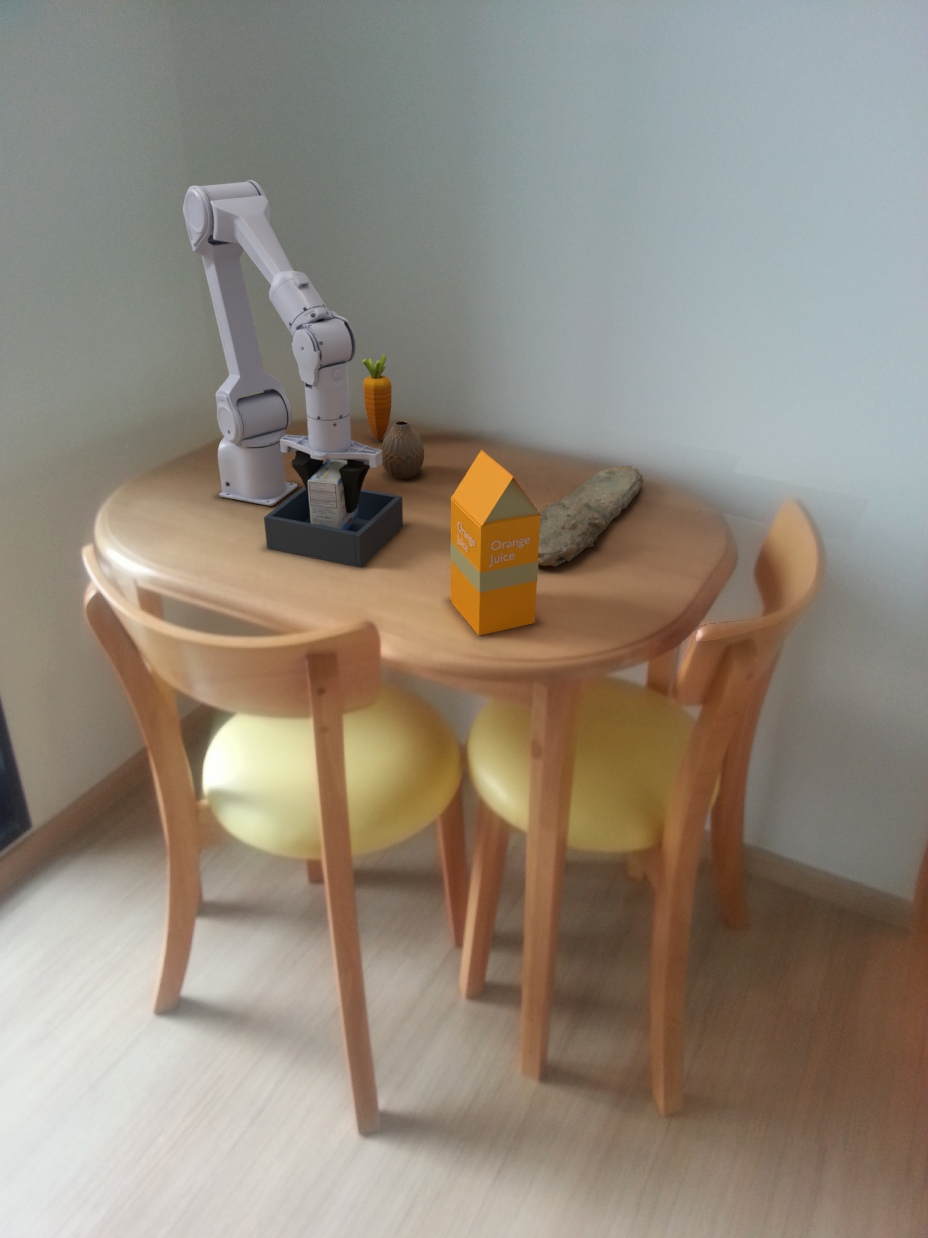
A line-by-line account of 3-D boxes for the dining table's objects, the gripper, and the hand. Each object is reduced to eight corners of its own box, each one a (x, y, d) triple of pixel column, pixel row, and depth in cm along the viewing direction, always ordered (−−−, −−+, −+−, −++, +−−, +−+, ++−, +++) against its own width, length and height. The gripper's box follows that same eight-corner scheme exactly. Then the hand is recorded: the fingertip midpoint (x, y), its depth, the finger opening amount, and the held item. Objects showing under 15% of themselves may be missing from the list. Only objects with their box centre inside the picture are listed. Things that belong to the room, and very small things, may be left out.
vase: (432, 472, 157) (432, 420, 152) (408, 486, 152) (406, 433, 148) (398, 463, 160) (396, 412, 156) (373, 476, 155) (370, 424, 151)
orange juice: (478, 636, 115) (481, 481, 105) (449, 601, 122) (449, 452, 111) (536, 622, 118) (544, 470, 107) (505, 589, 125) (510, 443, 114)
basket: (266, 548, 134) (263, 517, 131) (314, 509, 145) (312, 479, 142) (361, 567, 129) (359, 535, 127) (403, 526, 140) (402, 495, 138)
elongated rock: (657, 495, 153) (598, 485, 158) (659, 463, 151) (600, 454, 155) (570, 577, 126) (502, 563, 130) (572, 540, 124) (503, 527, 128)
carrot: (361, 444, 167) (357, 358, 159) (369, 434, 171) (365, 350, 163) (389, 446, 166) (387, 360, 158) (396, 436, 170) (393, 352, 163)
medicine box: (341, 540, 132) (338, 482, 128) (310, 537, 133) (306, 479, 129) (359, 516, 139) (356, 460, 134) (329, 513, 140) (326, 457, 135)
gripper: (264, 415, 126) (274, 509, 133) (364, 430, 122) (368, 527, 129) (291, 398, 132) (299, 489, 139) (387, 412, 128) (390, 506, 135)
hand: (334, 506), depth 134 cm, fingers closed on medicine box, 5 cm apart
